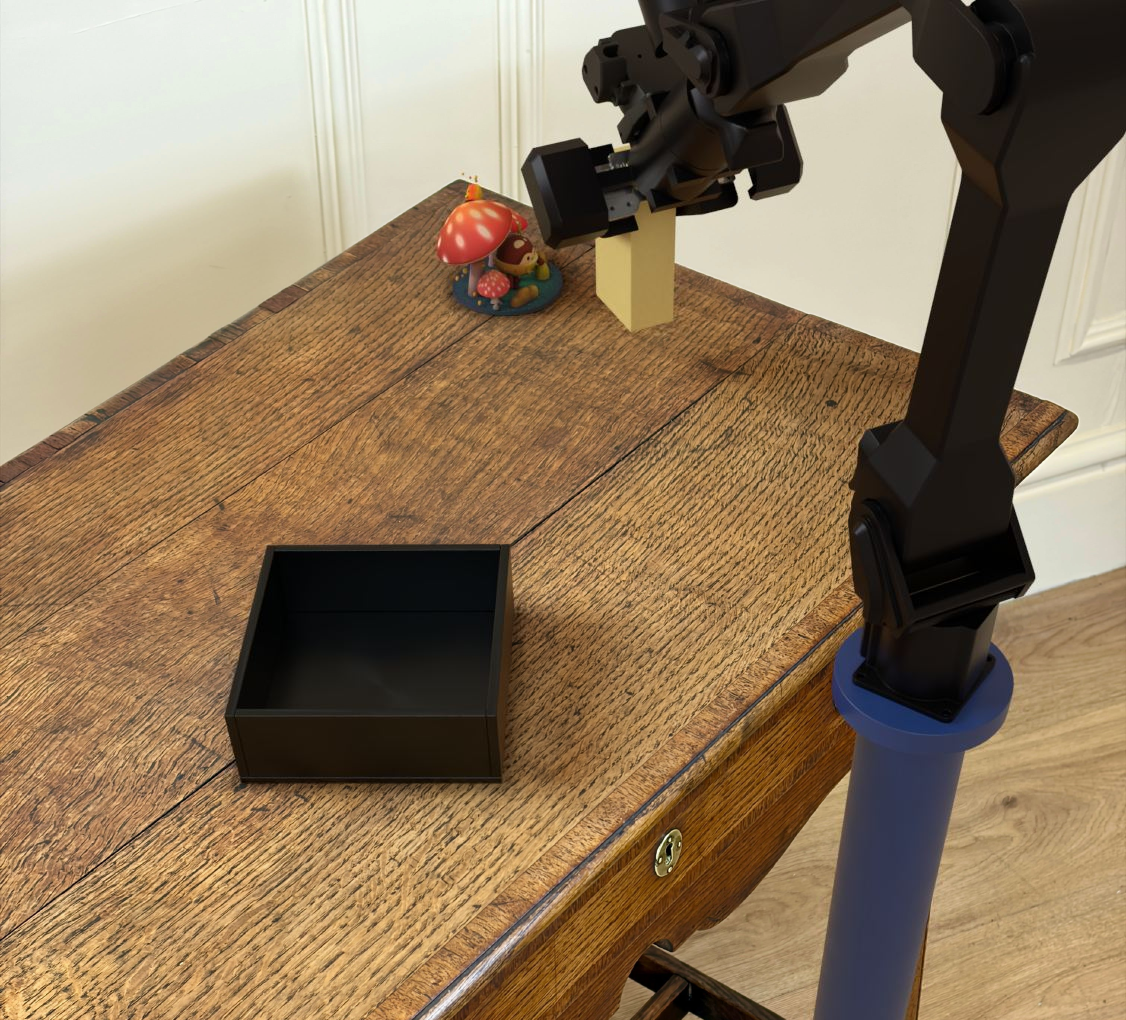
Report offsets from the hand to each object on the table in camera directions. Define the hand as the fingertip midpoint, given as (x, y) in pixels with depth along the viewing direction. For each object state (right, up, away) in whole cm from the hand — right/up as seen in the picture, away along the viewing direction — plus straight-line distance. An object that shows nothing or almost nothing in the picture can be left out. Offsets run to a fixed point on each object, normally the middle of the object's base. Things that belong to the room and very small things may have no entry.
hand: (626, 216), depth 113 cm
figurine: (-9, 0, +17) cm, 20 cm away
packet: (+1, -6, +4) cm, 7 cm away
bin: (-15, -35, -16) cm, 41 cm away
